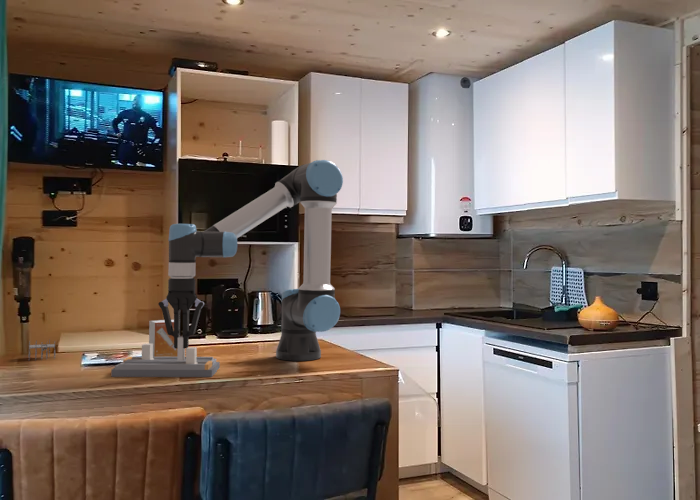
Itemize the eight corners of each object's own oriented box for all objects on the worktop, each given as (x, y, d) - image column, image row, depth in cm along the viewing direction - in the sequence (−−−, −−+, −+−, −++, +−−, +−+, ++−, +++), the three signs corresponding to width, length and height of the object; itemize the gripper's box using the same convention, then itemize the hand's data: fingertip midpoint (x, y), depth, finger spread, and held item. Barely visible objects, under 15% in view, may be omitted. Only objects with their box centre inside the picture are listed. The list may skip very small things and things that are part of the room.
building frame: (28, 358, 204) (28, 340, 204) (55, 357, 207) (55, 339, 207) (27, 361, 198) (28, 342, 198) (55, 359, 201) (55, 341, 201)
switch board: (219, 368, 189) (219, 356, 189) (211, 376, 176) (211, 364, 176) (126, 368, 188) (126, 356, 188) (111, 376, 175) (111, 364, 175)
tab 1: (153, 361, 186) (154, 343, 187) (150, 363, 183) (151, 345, 183) (143, 361, 186) (143, 343, 186) (140, 363, 183) (140, 344, 183)
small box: (154, 363, 195) (154, 322, 196) (148, 360, 201) (148, 320, 201) (179, 361, 200) (179, 321, 200) (173, 358, 205) (173, 319, 205)
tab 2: (197, 365, 180) (197, 347, 180) (195, 367, 177) (195, 348, 177) (187, 365, 180) (187, 347, 180) (184, 367, 177) (184, 348, 177)
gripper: (207, 277, 182) (206, 357, 182) (162, 276, 182) (161, 357, 182) (202, 278, 175) (201, 362, 175) (155, 277, 174) (154, 361, 174)
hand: (181, 359), depth 178 cm, fingers closed
